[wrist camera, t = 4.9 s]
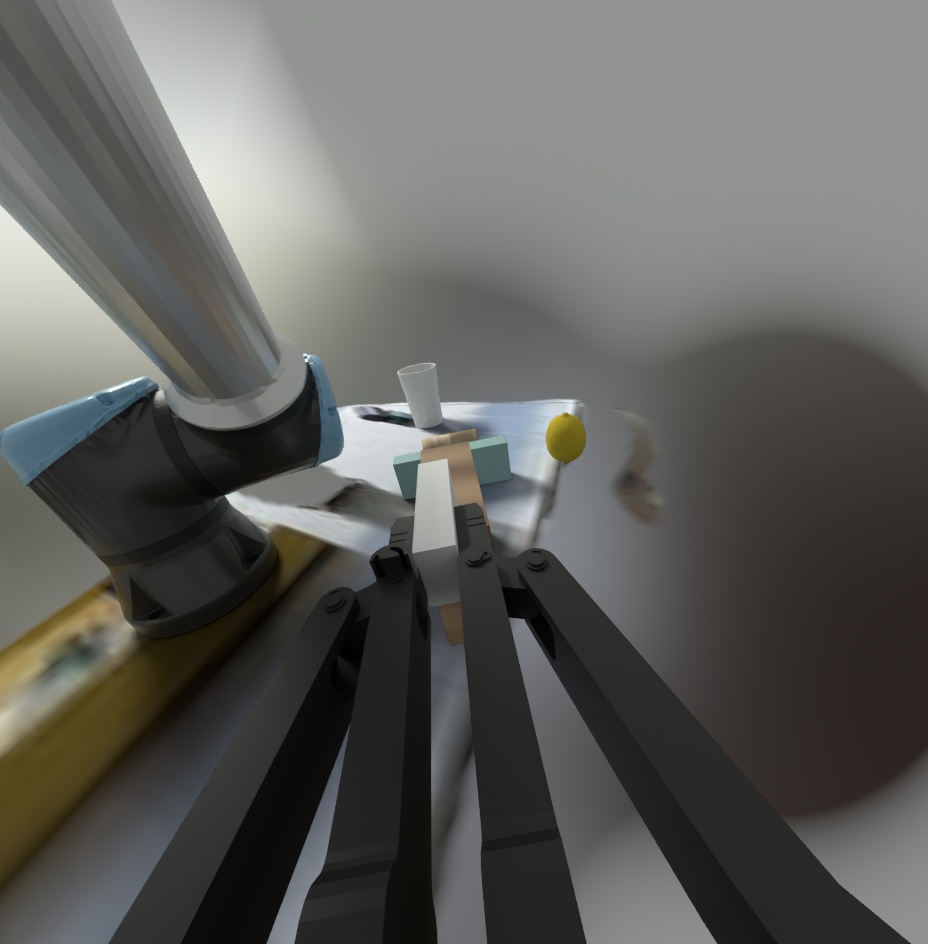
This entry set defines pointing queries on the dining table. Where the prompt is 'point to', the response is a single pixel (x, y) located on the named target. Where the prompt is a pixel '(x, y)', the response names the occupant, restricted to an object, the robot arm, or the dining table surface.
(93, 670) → the dining table surface
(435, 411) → the cup
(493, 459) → the rail
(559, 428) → the lemon
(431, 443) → the roller
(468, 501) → the slab
